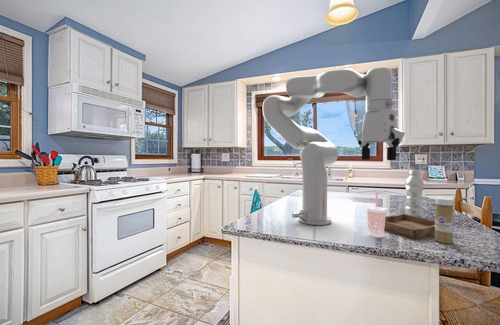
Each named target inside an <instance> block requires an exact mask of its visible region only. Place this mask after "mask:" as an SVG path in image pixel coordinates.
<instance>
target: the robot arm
mask: <svg viewBox="0 0 500 325" xmlns="http://www.w3.org/2000/svg"><path fill="white" fill-rule="evenodd" d="M284 90H285V93H286V94H287V95H288V96H289V97H286V96H282V95H275V94H274V95H273V94H272V95H269V96H267V97H266V98H265V99H264V100H263V103H262V115H263V118H264V120H265V122H266V123H267V124H268V125H269V127H270V128H271V129H272V130H274V131H275V132H276V133H277V134H278V136H280V138H282V139H283V140H284V141H285V142H286V143H287V144H288V145H289V146H290V147H291V148H292V149H295V150H300V162H301V163H300V164H301V168H302V171H301V172H302V206H301V207H302V208H301V209H300V210H299V211H298V212H292V213H291V217H292V219H295V218H296V219H298V221H299V222H300V223H303V224H306V225H309V226H310V225H311V226H325V225H329V224H331V223H332V219H331V217H330V216H329V217H328V172H327V168H326V166H330V165H333V164H334V163H335V162H336V161H337V160H338V157H339V151H338V148H337V146H336V145H335V144H334V143H332V142H331V141H330V140H329V139H327V138H326V136H324V135H323V134H322V133H320V132H319V131H318V130H316V129H314V128H312V127H306V126H305V127H304V126H300V125H299V124H298V123H297V122H296V121H294V120H293V119H292V118H291V117H292V116H294V115H296V114H298V112H299V111H300V110H301V109H302V108H303V107H305V105H307V104H308V103H309V102H310V101H311V99H313V98H316V99H317V98H321V97H324V95H325V94H336V93H337V94H340V93H341V94H345V95H349V96H351V97H354V98H362V97H365V113H364V115H363V122H362V130H361V132H360V133H358V134H357V135H356V136H355V137H356V140H357V144H358V146H359V147H360V149H361V160H362V161H366V160H367V161H368V160H371V148H370V146H371V144H372V143H386V144H387V146H388V147H387V149H386V160H387V161H396V160H397V148H398V147H399V145H400V144H401V142H403V139H404V136H405V131H403V130H401V129H398V125H397V123H398V122H397V117H396V113H395V110H394V109H393V106H395V101H394V100H392V95H393V71H392V69H391V68H390V67H388V66H378V67H374V68H371V69H369V70H368V71H367V72H366V74H362V73H359V72H357V71H355V70H353V69H338V70H337V69H335V70H327V71H325V72H322V73H320V74H314V75H313V74H312V75H299V76H292V77H290V78H289V79H287V81H286V82H285V85H284Z"/></svg>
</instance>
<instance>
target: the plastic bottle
mask: <svg viewBox="0 0 500 325" xmlns="http://www.w3.org/2000/svg"><path fill="white" fill-rule="evenodd" d="M408 172H409V173H408V175H409V176H408V177H407V178H406V179H405V182H404V185H405V191H406V194H405V195H406V201H405V206H404V214H407V215H412V216H416V217H421V218H423V216H424V208H423V190H424V187H425V186H424V181H423V179H422V178H421V177H420V175H421V170H420V169H419V170H417V169H410V170H409V171H408Z"/></svg>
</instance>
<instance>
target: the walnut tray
mask: <svg viewBox="0 0 500 325" xmlns="http://www.w3.org/2000/svg"><path fill="white" fill-rule="evenodd" d="M385 231H386V232H388V233H391V234H395V235H396V236H401V237H404V238H407V239H411V240H413V241H414V240H419V239H424V238H428V237H435V219H434V220H433V219H428V218H423V217H416V216H412V215H407V214H405V213H398V214H392V215H386V216H385V227H384V232H385Z"/></svg>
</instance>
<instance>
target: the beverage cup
mask: <svg viewBox="0 0 500 325" xmlns="http://www.w3.org/2000/svg"><path fill="white" fill-rule="evenodd" d="M387 210H388V209H387V208H386V207H381V206H378V192H376V193H375V206H374V205H372V206H371V205H370V206H366V211H367V212H366V213H367V233H368V235H369V236H371V237H374V238H384V236H385V230H384V227H385V216H387V215H386V214H387V212H388V211H387Z"/></svg>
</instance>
